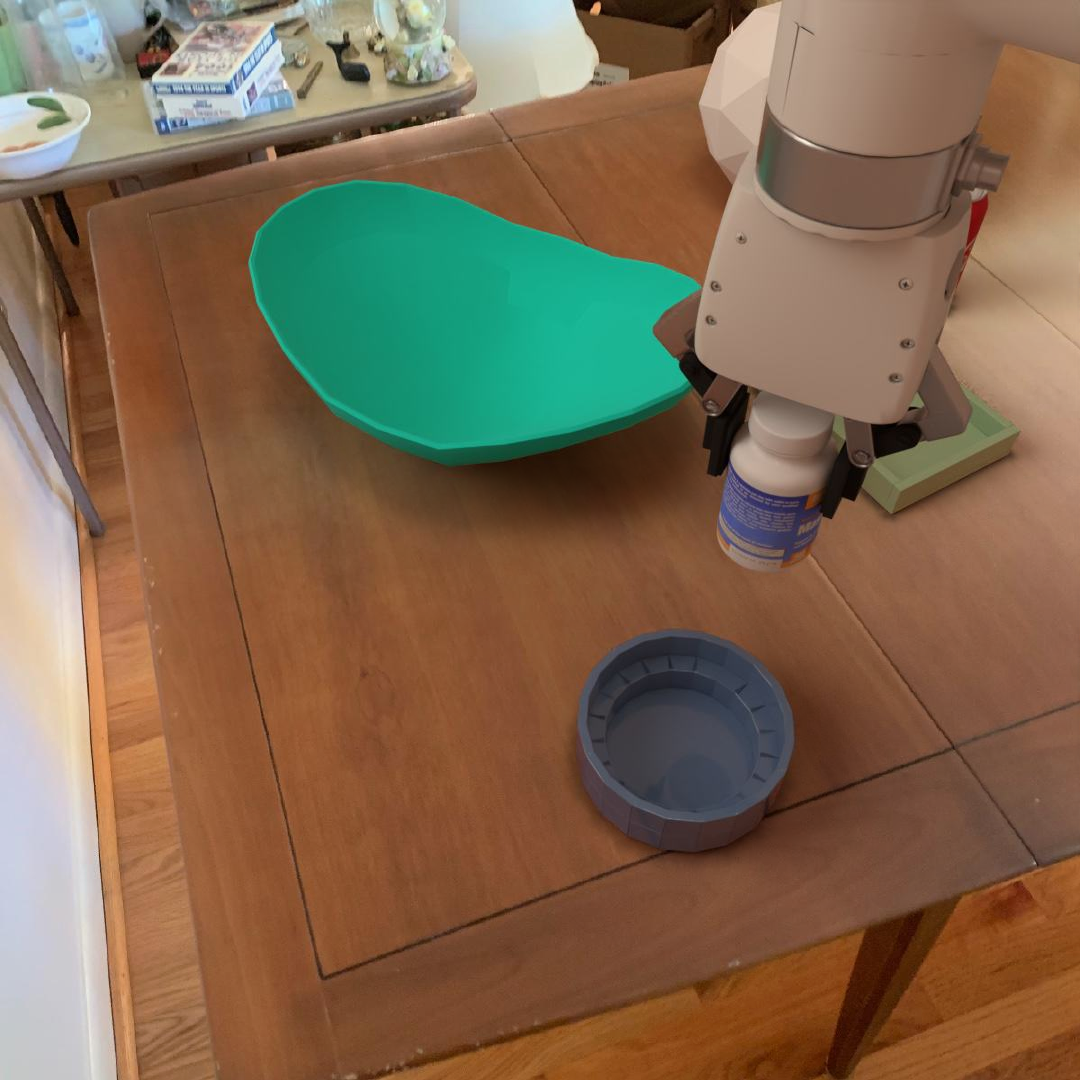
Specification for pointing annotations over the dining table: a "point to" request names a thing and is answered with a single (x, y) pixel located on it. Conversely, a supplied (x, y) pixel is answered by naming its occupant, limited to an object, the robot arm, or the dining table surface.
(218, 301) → the dining table surface
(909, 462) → the tray
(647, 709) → the bowl
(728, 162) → the ball
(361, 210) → the table top decor
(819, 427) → the pill bottle
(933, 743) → the dining table surface
